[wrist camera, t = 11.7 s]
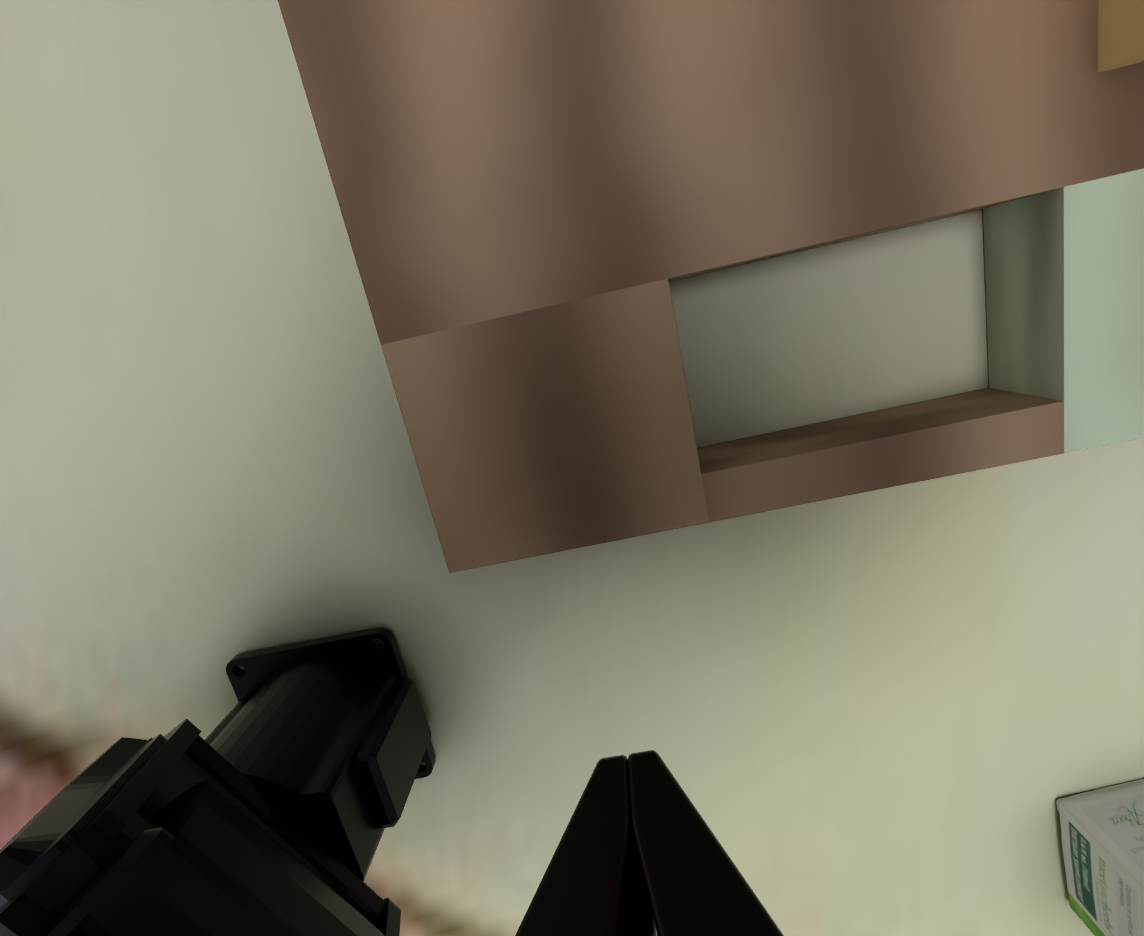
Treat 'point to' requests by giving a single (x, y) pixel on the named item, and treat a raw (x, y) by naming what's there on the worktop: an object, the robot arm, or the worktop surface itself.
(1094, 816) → the syrup box
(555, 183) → the trap board
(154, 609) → the worktop surface
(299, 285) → the worktop surface
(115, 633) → the worktop surface
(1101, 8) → the ochre block
